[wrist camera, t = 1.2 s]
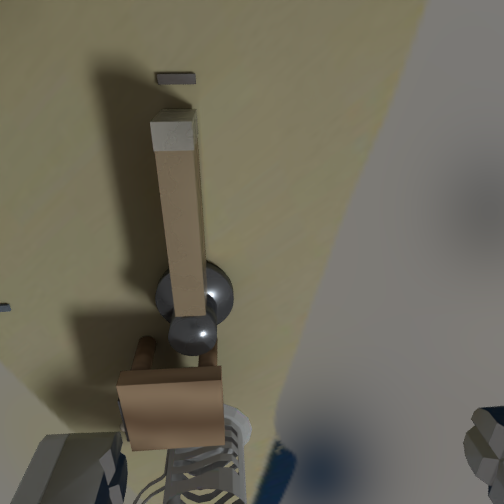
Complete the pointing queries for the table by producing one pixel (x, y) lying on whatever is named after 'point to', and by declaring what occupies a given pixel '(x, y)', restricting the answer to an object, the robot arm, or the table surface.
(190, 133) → the cam lever
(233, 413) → the french press
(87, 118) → the table surface
